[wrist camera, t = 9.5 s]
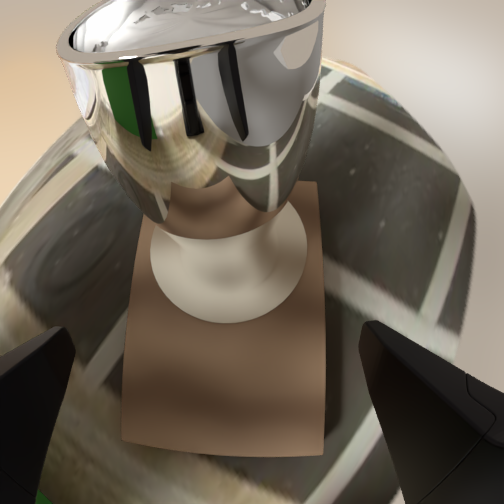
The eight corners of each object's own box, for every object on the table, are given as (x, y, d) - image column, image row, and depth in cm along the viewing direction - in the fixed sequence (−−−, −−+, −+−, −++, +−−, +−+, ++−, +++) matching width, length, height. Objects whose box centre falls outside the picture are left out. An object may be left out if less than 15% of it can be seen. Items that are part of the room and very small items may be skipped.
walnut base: (316, 446, 16) (323, 455, 14) (132, 434, 16) (120, 441, 14) (311, 196, 23) (317, 180, 21) (158, 194, 23) (150, 178, 21)
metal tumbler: (292, 208, 20) (332, -26, 6) (275, 312, 17) (339, 74, 3) (191, 192, 20) (132, -23, 7) (160, 289, 18) (-5, 90, 4)
